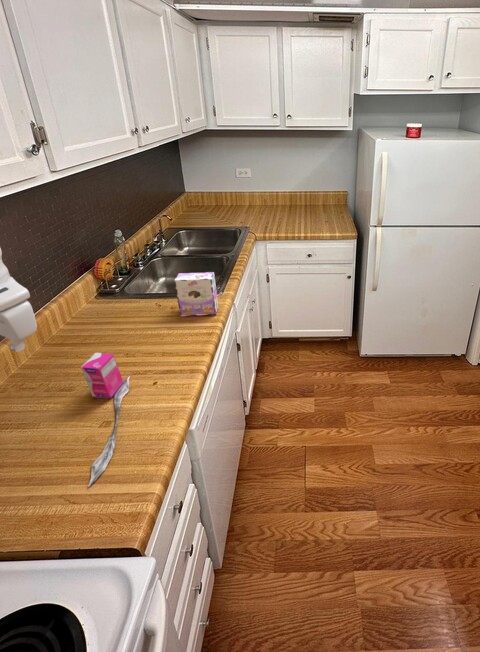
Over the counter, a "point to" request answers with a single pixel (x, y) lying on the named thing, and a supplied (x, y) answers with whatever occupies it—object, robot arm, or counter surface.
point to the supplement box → (102, 375)
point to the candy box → (196, 293)
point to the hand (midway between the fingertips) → (4, 344)
